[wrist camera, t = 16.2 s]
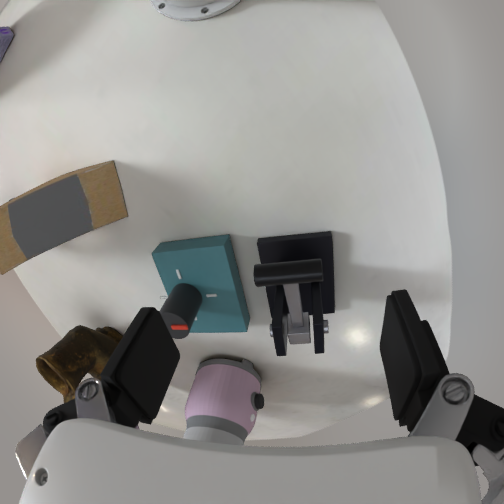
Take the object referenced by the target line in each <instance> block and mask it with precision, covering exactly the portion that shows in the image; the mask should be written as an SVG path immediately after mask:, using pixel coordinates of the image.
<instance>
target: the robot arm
mask: <svg viewBox="0 0 504 504" xmlns="http://www.w3.org/2000/svg"><path fill="white" fill-rule="evenodd" d="M240 1H241V0H150V2H151V4H152V6H153V7H154V8H155V9H156V10H157V11H158V12H160V13H161V14H163V15H165V16H167V17H169V18H172V19H176V20H181V21H194V20H202V19H206V18H210V17H213V16H216V15H218V14H221V13H223V12H225V11H227V10H228V9H230V8H232V7H233V6H234V5H236V4H237V3H239V2H240ZM206 11H208V12H207V13H206V14H205V12H206ZM380 352H381V357H382V361H383V365H384V370H385V374H386V379H387V384H388V389H389V394H390V399H391V404H392V409H393V416H394V419H395V420H399V425H400V426H405V425H407V429H408V431H409V432H410V434H409V435H408V437H399V438H392V439H384V440H376V441H368V442H360V443H351V444H341V445H340V444H339V445H326V446H308V447H264V446H244V445H231V444H221V443H212V442H204V441H197V440H190V439H184V438H178V437H172V436H167V435H161V434H157V433H152V432H148V431H144V430H140V429H139V427H138V423H139V421H140V422H142V423H146V424H151V423H152V420H153V419H155V418H156V416H157V414H158V412H159V409H160V406H161V404H162V401H163V399H164V396H165V394H166V391H167V389H168V386H169V384H170V381H171V379H172V376H173V374H174V371H175V369H176V367H177V364H178V362H179V359H180V353H179V350H178V348H177V346H176V345H175V343H174V341H173V339H172V337H171V335H170V333H169V330H168V328H167V326H166V324H165V322H164V320H163V318H162V316H161V314H160V312H159V311H157V310H156V308H154V307H143V308H141V309H140V311H139V312H138V314H137V315H136V317H135V318H134V320H133V321H132V323H131V325H130V326H129V328H128V329H127V331H126V332H125V334H124V336H123V337H122V339H121V340H120V342H119V344H118V345H117V347H116V349H115V350H114V352H113V354H112V355H111V357H110V359H109V360H108V362H107V364H106V365H105V367H104V369H103V370H102V372H101V374H100V376H101V378H102V379H101V381H100V380H98V379H96V378H89V379H86V380H84V381H82V382H81V383H80V384H79V385H78V387H77V389H76V391H75V398H74V399H72V400H70V401H68V402H66V403H64V404H62V405H60V406H58V407H55V408H54V409H52V410H50V411H49V412H48V413H47V414H46V416H45V417H44V421H43V426H42V425H41V424H40V425H39V426H38V427H36V429H34V430H33V431H32V432H30V433H29V434H28V435H27V436H26V437H25V438H23V439H22V440H21V441H20V442H19V443H18V444H17V446H16V451H15V452H16V457H17V459H18V462H19V464H20V467H21V469H22V471H23V474H24V476H25V478H26V480H27V482H26V485H25V487H24V490H23V493H22V496H21V499H20V502H19V504H504V409H503V408H502V407H499V406H497V405H495V404H493V403H491V402H489V401H487V400H485V399H483V398H481V397H479V396H477V395H475V394H474V386H473V384H472V382H471V381H470V379H469V378H468V377H466V376H464V375H463V374H458V373H453V374H449V371H448V368H447V366H446V363H445V360H444V358H443V355H442V353H441V350H440V348H439V345H438V343H437V341H436V338H435V336H434V334H433V332H432V329H431V327H430V325H429V323H428V321H426V320H423V321H421V320H420V318H419V315H418V313H417V311H416V309H415V307H414V304H413V302H412V300H411V298H410V296H409V294H408V292H407V290H397V291H392V293H391V295H388V296H387V299H386V307H385V314H384V321H383V328H382V334H381V340H380ZM475 466H480V467H481V468H482V469H483V471H484V473H483V474H484V476H485V477H486V478H487V480H488V481H489V489H488V492H487V494H486V495H485V497H484V498H483V499H482V500H481V493H480V487H479V481H478V476H477V472H476V469H475Z"/></svg>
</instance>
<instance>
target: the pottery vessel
mask: <svg viewBox="0 0 504 504" xmlns="http://www.w3.org/2000/svg"><path fill="white" fill-rule="evenodd" d="M122 337H123V336H122V335H121V334H119V333H118V332H117V331H115V330H113V329H112V328H110V327H104V328H103V329H102V328H97V329H96V330H93V329H90V328H87V327H85V326H81V325H80V326H76V327H75V328H73V329H72V330H70V331H69V332H68V333H67V334H66V335H65V337H64V338H63V339H62V340H61V341H59V342H58V343H57V344H56V345H54V346H53V347H52V348H51V349H50V350H49V351H47V352H45V353H44V354H42V355H40V356H39V357H38V358H37V359H36V367H37V369H38V371H39V373H40V374H41V375H42V376H43V378H44V379H45V380H46V381H47V382H48V383H49V384H50V385H51V386H53V388H55V389H56V390H57V391H59V392H60V393H61V394H62V395H63V397H64V403H66V402H68V401H70V400H72V399H74V398H75V391H76V389H77V387H78V385H79V383H80V382H81V380H82V379H83V377H84V376H85V375H86V374H87V373H89V374H91V375H92V376H93V377H94V378H96V379H98V380H100V381H101V379H102V378H101V376H100V374H101V372H102V370H103V369H104V367H105V365H106V364H107V362H108V360H109V359H110V357H111V355H112V354H113V352H114V350H115V349H116V347H117V345H118V344H119V342H120V340H121V339H122Z"/></svg>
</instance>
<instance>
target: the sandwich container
mask: <svg viewBox="0 0 504 504" xmlns="http://www.w3.org/2000/svg"><path fill="white" fill-rule="evenodd" d="M125 217H128V215H127V211H126V207H125V203H124V198H123V194H122V190H121V186H120V183H119V179H118V176H117V173H116V169H115V166H114V162H113V161H109V162H105V163H101V164H97V165H93V166H89V167H86V168H82V169H79V170H76V171H73V172H70V173H67V174H65V175H62V176H59V177H57V178H55V179H52V180H50V181H48V182H46V183H44V184H42V185H40V186H38V187H36V188H33V189H31V190H30V191H28V192H26V193H24V194H22V195H20V196H18V197H16V198H14V199H12V200H10V201H9V202H7V203H5V204H3V205H2V206H0V274H2V275H3V274H5V273H6V272H8V271H9V270H11V269H13V268H15V267H17V266H18V265H20V264H22V263H24V262H25V261H27V260H29V259H31V258H33V257H35V256H37V255H39V254H41V253H43V252H45V251H47V250H50V249H52V248H54V247H56V246H58V245H60V244H62V243H65V242H67V241H69V240H71V239H74V238H76V237H78V236H80V235H83V234H85V233H87V232H90V231H92V230H94V229H97V228H99V227H102V226H104V225H107V224H109V223H112V222H114V221H117V220H120V219H122V218H125Z"/></svg>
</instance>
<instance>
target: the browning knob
mask: <svg viewBox="0 0 504 504" xmlns="http://www.w3.org/2000/svg"><path fill="white" fill-rule="evenodd" d="M201 304H202V295H201V293H200V292H199V290H198V289H197V288H195V287H194V286H192V285H190V284H186V283H180V284H177V285H176V286H174V288H173V289H172V291H171V293H170V294H169V296H168V298H167V299H166V301H165V303H164V305H163V306H162V308H161V310H160V311H159V312H160V314H161V316H162V318H163V320H164V322H165V324H166V326H167V328H168V330H169V333H170V335H171V337H172V338H175V339H182V338H185V337H186V336H187V335H188V334H189V332H190V329H191V327H192V325H193V322H194V320H195V318H196V315H197V313H198V311H199V308H200V306H201Z"/></svg>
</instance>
